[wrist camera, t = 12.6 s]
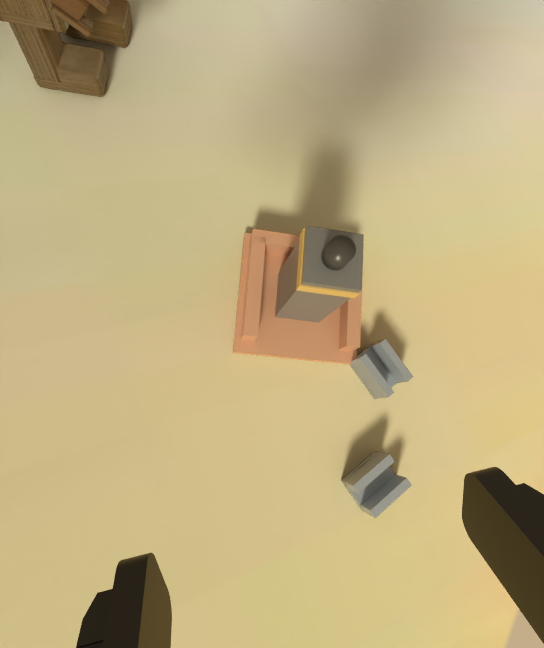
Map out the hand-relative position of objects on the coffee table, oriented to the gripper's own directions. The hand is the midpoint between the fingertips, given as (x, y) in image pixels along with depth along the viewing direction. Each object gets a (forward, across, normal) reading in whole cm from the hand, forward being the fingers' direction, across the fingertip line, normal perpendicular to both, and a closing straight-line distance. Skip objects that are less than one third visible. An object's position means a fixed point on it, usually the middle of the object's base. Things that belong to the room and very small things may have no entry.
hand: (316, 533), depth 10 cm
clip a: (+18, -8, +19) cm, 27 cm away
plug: (+27, -5, +5) cm, 28 cm away
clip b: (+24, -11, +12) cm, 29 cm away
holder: (+28, -6, +5) cm, 29 cm away
